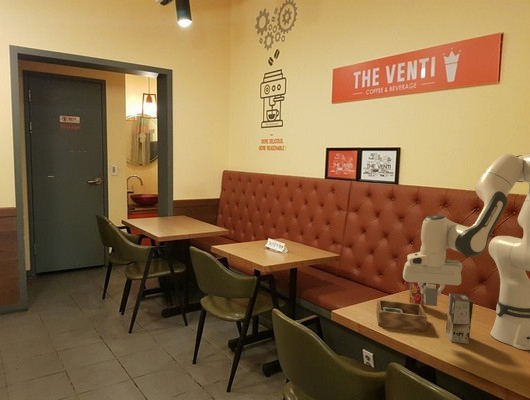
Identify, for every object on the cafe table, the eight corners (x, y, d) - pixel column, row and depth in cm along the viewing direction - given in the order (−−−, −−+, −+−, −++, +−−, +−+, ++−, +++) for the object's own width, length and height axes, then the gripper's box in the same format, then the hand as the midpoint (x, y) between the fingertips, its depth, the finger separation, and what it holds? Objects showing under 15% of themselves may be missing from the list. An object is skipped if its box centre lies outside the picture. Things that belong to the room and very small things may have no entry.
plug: (434, 302, 152) (435, 281, 151) (436, 306, 148) (438, 285, 147) (423, 301, 152) (424, 281, 151) (425, 305, 149) (426, 284, 148)
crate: (419, 317, 170) (420, 304, 169) (425, 331, 156) (426, 317, 155) (376, 312, 173) (377, 299, 173) (378, 325, 160) (379, 311, 159)
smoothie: (430, 308, 181) (434, 266, 179) (414, 309, 179) (418, 266, 177) (418, 302, 189) (422, 261, 187) (403, 303, 187) (407, 261, 185)
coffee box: (469, 344, 147) (474, 302, 145) (450, 342, 148) (455, 300, 146) (462, 333, 156) (466, 294, 154) (445, 331, 157) (448, 292, 155)
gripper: (460, 258, 149) (458, 293, 151) (403, 254, 153) (401, 289, 155) (465, 262, 143) (462, 299, 144) (405, 259, 147) (403, 294, 149)
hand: (430, 294), depth 150 cm, fingers closed on plug, 4 cm apart
